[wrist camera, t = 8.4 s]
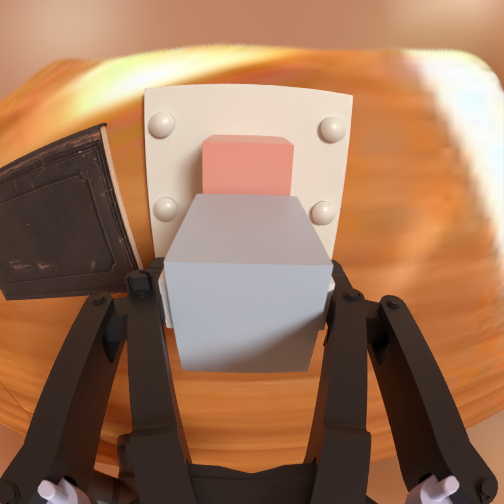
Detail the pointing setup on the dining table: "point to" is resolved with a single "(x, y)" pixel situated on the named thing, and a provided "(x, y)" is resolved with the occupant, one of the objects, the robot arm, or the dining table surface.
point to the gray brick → (246, 284)
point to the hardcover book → (64, 221)
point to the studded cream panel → (245, 150)
